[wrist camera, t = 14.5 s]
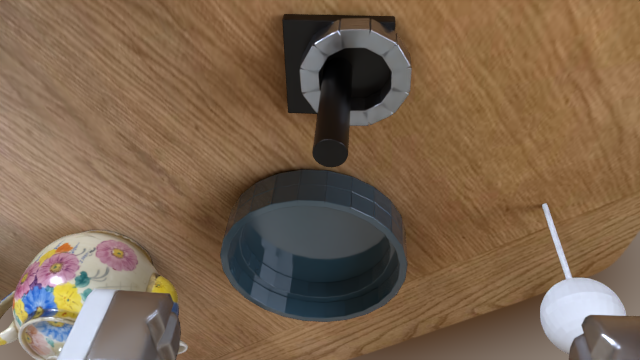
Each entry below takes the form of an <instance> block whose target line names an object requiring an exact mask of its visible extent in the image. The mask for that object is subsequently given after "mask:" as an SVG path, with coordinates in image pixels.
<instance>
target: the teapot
mask: <svg viewBox="0 0 640 360" xmlns="http://www.w3.org/2000/svg"><path fill="white" fill-rule="evenodd" d="M94 289H114V290H126V291H141V292H156V293H170V295H171V297H172V300H173V302H174V304H173V307H172V310H171V312H173V313H174V314H175V315H177V316H178V315H179V301H178V295H177V292H176V289H175V288H174V286H173V285H172V283H171V282H170V281H168V280H167V279H166V278H164V277H162V276H160V275H158V272H157V271H156V269H155V268H154V266H153V262H152V259H151V257H150V256H149V254H148V253H147V252H146V250H145V249H144V248H143V247H141V246H140V245H139V244H138V243H136V242H135V241H133V240H131V239H130V238H128V237H126V236H123V235H121V234H118V233H114V232H110V231H104V230H90V231H85V232H82V233H76V234H71V235H67V236H64V237H62V238H60V239H57V240H56V241H54V242H52V243H51V244H49V245H48V246H47V247H45V248H44V249H43V250H42V251H41V252H40V253H39V254H38V255H37V256H36V257H35V258H34V259H33V261H32V262H31V263H30V265H29V266H28V267H27V269H26V270H25V272H24V274H23V275H22V277H21V279H20V281H19V283H18V285H17V287H16V290H15V291H13V292H12V293H10V294H9V295H8V296H6V297H5V298H4V299H3V300H2V301H1V302H0V318H1V317H2V316H3V314H4V313H5V312H6V311H7V310H8V309H9V308H10V307H11V306H12V309H13V316H14V320H13V322H12V323H11V325H10V326H9V327H8V328H7V329H6V330H5V331H3V332H1V333H0V345H4V344H7V343H10V342H13V341H15V340H17V339H19V342H20V344H21V345H22V347H23V348H24V349H25V351H26V352H27V353H28V354H29V355H30V356H32V357H33V358H34V359H36V360H57V358H58V356H59V354H60V352H61V350H62V348H63V346H64V344H65V342H66V340H67V338H68V336H69V333H70V331H71V329H72V327H73V325H74V323H75V321H76V319H77V317H78V315H79V313H80V311H81V308H82V306H83V304H84V302H85V300H86V298H87V296H88V295H89V294H90V293H91V292H92V291H93V290H94ZM187 349H188V345H187V344H186V343H184V342H183V341H181V340H180V345H179V350H178V354H181V353H183V352H185V351H186V350H187Z"/></svg>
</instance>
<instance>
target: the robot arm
mask: <svg viewBox="0 0 640 360" xmlns="http://www.w3.org/2000/svg"><path fill="white" fill-rule="evenodd" d="M173 304H174V302H173V300H172V297H171V295H170V293H156V292H141V291H126V290H114V289H94V290H93V291H92V292H91V293H90V294H89V295H88V296H87V298H86V300H85V302H84V304H83V306H82V308H81V311H80V313H79V315H78V317H77V319H76V321H75V323H74V325H73V327H72V329H71V331H70V333H69V336H68V338H67V340H66V342H65V344H64V346H63V348H62V350H61V352H60V354H59V356H58V358H57V360H176V357H177V354H178V350H179V345H180V336H181V329H180V322H179V318H178V316H177V315H175V314H174V313H173V312H171V310H172V307H173ZM581 326H582V329H583V332H584V333H583V334H581V335H579V336H578V337H576V338H574V340H573V342H572V345H571V347H570V352H569V360H640V316H616V315H589V316H587V317H585V319H584V321H583V323H582V324H581Z"/></svg>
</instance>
